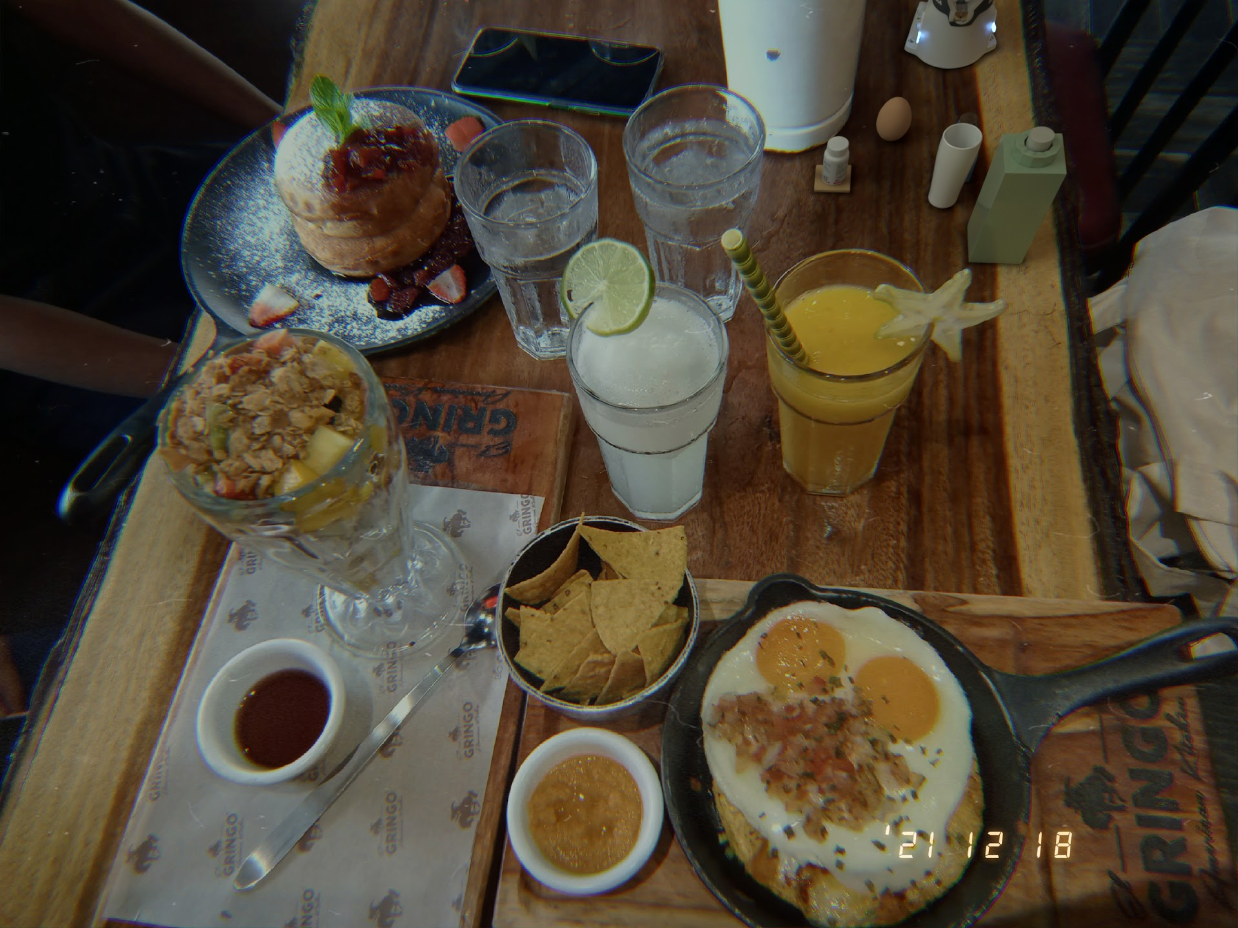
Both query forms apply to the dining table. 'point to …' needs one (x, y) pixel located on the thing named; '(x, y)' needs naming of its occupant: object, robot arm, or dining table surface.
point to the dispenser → (1014, 199)
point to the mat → (824, 187)
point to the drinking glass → (953, 163)
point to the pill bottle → (835, 161)
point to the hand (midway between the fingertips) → (958, 19)
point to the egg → (894, 119)
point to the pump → (1040, 139)
